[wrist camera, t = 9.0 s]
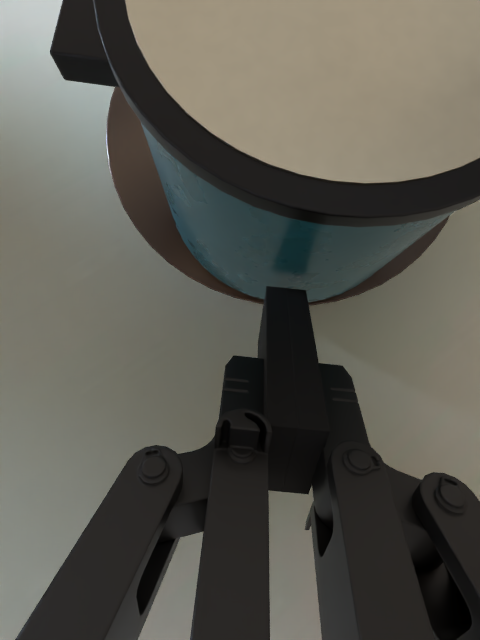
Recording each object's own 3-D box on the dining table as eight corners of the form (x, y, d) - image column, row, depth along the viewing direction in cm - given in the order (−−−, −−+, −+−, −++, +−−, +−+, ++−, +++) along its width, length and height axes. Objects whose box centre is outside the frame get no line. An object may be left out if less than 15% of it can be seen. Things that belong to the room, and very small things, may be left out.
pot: (434, 330, 18) (693, 262, 8) (113, 287, 18) (-35, 164, 8) (444, 103, 20) (659, -180, 10) (157, 64, 20) (84, -259, 10)
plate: (32, 152, 20) (28, 147, 19) (260, -69, 23) (261, -78, 22) (319, 387, 18) (321, 386, 18) (528, 116, 21) (534, 111, 20)
